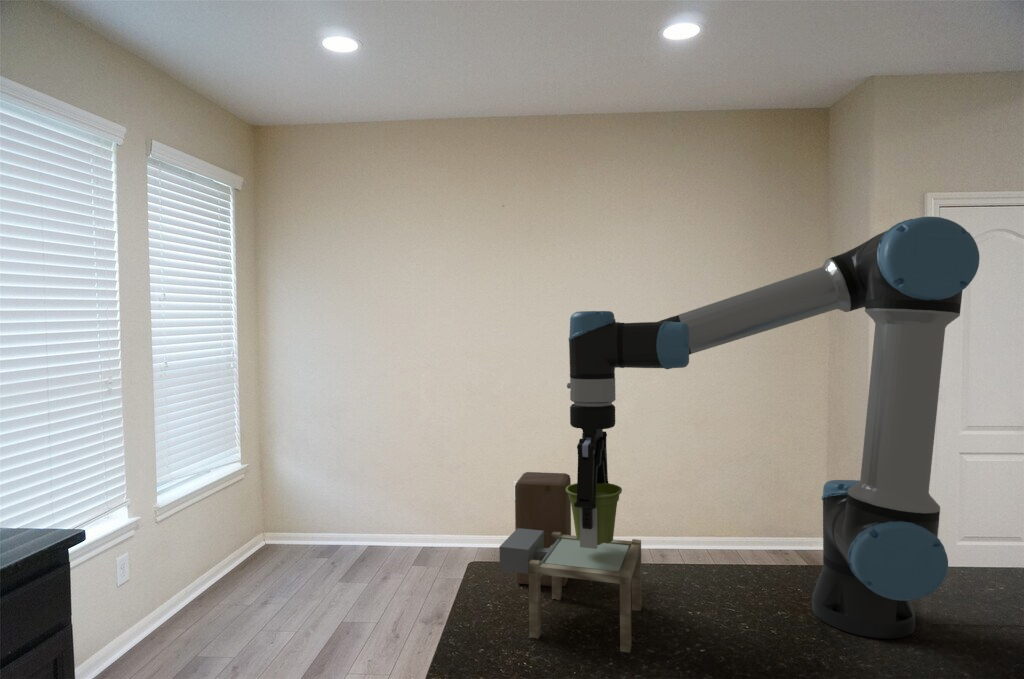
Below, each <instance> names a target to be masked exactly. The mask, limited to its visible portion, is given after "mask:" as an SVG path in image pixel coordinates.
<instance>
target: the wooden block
mask: <svg viewBox="0 0 1024 679" xmlns="http://www.w3.org/2000/svg"><path fill="white" fill-rule="evenodd" d="M571 479H572V478H571V476H570V475H569V474H568V473H563V472H562V473H561V472H542V471H541V472H540V471H539V472H537V471H536V472H535V471H534V472H533V471H526V472H524V473H523V474H521V476H520V478H519V479H518V480H517V481H516V482H515V485H514V512H515V513H514V518H515V519H514V520H515V524H514V525H515V528H514V529H515V530H516V529H517V528H521V529H531V530H541V531H544V548H550V546H551V534H552V533H553V532H561V534H562V535H572V506H571V501H570V500H569V495H568V493H567V492H566V487H567V486H569V485H572V484H571V483H572V482H571ZM515 530H514V531H515ZM542 557H543V556H541V557H540V559H539V561H540V560H541V558H542ZM515 580H516V582H517V583H518V584H520V585H522V584H523V585H529V573H528V574H526V573H518V572H515ZM568 580H569V578H567V577H562V586H563V587H566V585H567V583H568ZM540 586H545V587H546V586H547V587H552V576H550V575H542V576H541V578H540Z"/></svg>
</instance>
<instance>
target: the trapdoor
mask: <svg viewBox="0 0 1024 679" xmlns="http://www.w3.org/2000/svg"><path fill="white" fill-rule="evenodd" d="M628 552H629V545H619V544H609V543H608V544H607V543H602V544H600V545H597V549H593V548H583V547H580V541H579V540H569V539H561V540H560V539H557V540H556V542H555V543H554V544H553V546H552V547H551V548H544V531H541V530H531V529H521V528H517V529H516V530H514V531H513V532H512V533H511V534H510V535H509V536H508V537H507V538H506V539H505V540H504V541H503V542H502V543H501V544H500V545H499V571H501V572H502V571H503V572H509V573H510V572H511V573H516V572H518V573H526V574H528V573H529V562H530V561H531V560H539V559H540V557H541V556H543V557H544V558H543V559H542V561H541V562H540V563H544V564H553V565H562V566H570V567H579V568H588V569H597V570H606V571H615V572H620V571H621V570H622V568H623V566H624V563H625V560H626V558H627V555H628Z"/></svg>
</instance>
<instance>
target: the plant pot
mask: <svg viewBox="0 0 1024 679" xmlns="http://www.w3.org/2000/svg"><path fill="white" fill-rule="evenodd" d="M566 492H567V493H568V495H569V500H570V501H571V513H572V516H573V517H572V518H573V524H574V530H575V536H576V538H577V540H580V508H577V507H575V506H574V503H576V501H577V482H576V483H572V484H571V485H569V486H567V487H566ZM622 492H623V489H622V487H621V486H619V485H617V484H614V483H610V482H608V483H602V484H597V487H596V496H595V497H596V507H597V545H600V544H602V543H607V544H608V543H610V542H612V541H613V539H614V534H615V532H614V531H615V524H616V514H617V507H618V502H619V501H620V494H622ZM586 500H588V499H586Z"/></svg>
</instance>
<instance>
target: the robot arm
mask: <svg viewBox="0 0 1024 679" xmlns="http://www.w3.org/2000/svg"><path fill="white" fill-rule="evenodd" d="M980 260H981V259H980V250H979V247H978V244H977V242H976V240H975V238H974V237H973V236H972V234H971V233H970V232H969V231H967V229H966V228H964V227H963V226H962V225H960V224H959V223H957V222H955V221H953V220H951V219H948V218H944V217H940V216H920V217H916V218H909V219H905V220H903V221H900V222H898V223H896V224H894V225H892V226H891V227H890V228H889V229H887V230H885V231H883V232H881V233H878V234H876V235H875V236H873V237H871V238H870V239H868V240H866V241H865V242H862V243H861V244H859V245H857V246H855V247H854V248H852V249H850V250H847V251H846V252H843V253H841V254H837V255H835V256H832V257H829V258H826V259H825V261H824V262H823V265H822V266H821V267H818V268H814V269H812V270H809V271H806V272H802V273H799V274H797V275H794V276H791V277H788V278H785V279H781V280H779V281H775V282H773V283H770V284H766V285H764V286H761V287H758V288H755V289H752V290H749V291H745V292H742V293H739V294H736V295H733V296H731V297H728V298H725V299H721V300H718V301H715V302H713V303H710V304H706V305H703V306H701V307H698V308H697V307H696V308H695V309H691V310H688V311H684V312H682V313H679V314H677V315H674V316H670V317H667V318H664V319H661V320H659V321H649V322H647V321H646V322H645V321H644V322H642V321H641V322H619V321H617V322H616V318H615V314H614V312H613V311H611V310H585V311H576V312H574V313H573V314H571V316H570V319H569V320H570V321H569V337H568V348H569V349H568V350H569V353H568V354H569V379H570V380H569V382H567V383H566V388H567V389H570V391H569V392H570V393H569V396H570V398H569V400H570V401H571V402H573V403H572V404H570V406H569V420H570V421H569V423H570V426H571V427H572V428H575V429H581V430H582V435H581V438H579V440H578V443H577V445H576V448H577V449H576V450H577V474H576V475H577V477H576V478H577V482H576V483H577V501H576V503H574V506H575V507H577V508H580V547H583V548H593V549H597V507H596V497H595V496H596V487H597V484H602V483H609V475H608V474H609V473H608V453H607V436H608V433H607V431H604V430H607V429H608V430H609V429H612V428H613V427H615V426H616V406H615V405H614V404H613V402H615V401H616V372H615V370H616V368H617V369H618V368H620V369H624V368H628V369H629V368H630V369H632V368H635V369H665V370H670V369H683V368H686V367H687V366H689V364H690V355H692V354H697V353H698V352H702V351H706V350H709V349H712V348H715V347H719V346H722V345H725V344H728V343H732V342H734V341H738V340H742V339H744V338H747V337H750V336H754V335H757V334H760V333H763V332H767V331H771V330H774V329H777V328H780V327H783V326H786V325H790V324H792V323H795V322H799V321H803V320H806V319H808V318H812V317H815V316H818V315H822V314H826V313H827V312H832V311H835V310H839V311H841V312H844V313H848V312H852V311H855V310H856V311H857V310H859V309H864V312H865V313H866V314H867V315H868V316H869V317H870V319H872V320H873V323H874V324H875V325H874V334H873V345H872V355H871V356H872V357H871V363H870V364H871V366H870V377H869V385H868V386H869V387H868V396H867V398H868V399H867V408H866V418H865V428H864V436H863V437H864V438H863V446H862V448H863V449H862V458H861V470H860V479H859V480H856V479H853V480H852V479H833V480H832V479H831V480H829V481H826V482H825V483H824V484H823V487H822V488H823V489H822V491H823V492H822V496H821V500H822V547H823V548H822V554H823V555H822V556H823V557H822V561H823V562H822V563H823V564H822V568H821V571H820V573H819V576H818V578H817V581H816V584H815V587H814V590H813V592H812V596H811V610H812V612H813V614H814V615H815V616H816V617H817V618H818V619H819V620H821V621H822V622H824V623H825V624H827V625H829V626H831V627H833V628H836V629H837V630H841V631H843V632H846V633H850V634H854V635H857V636H861V637H868V638H874V639H882V640H883V639H901V638H905V637H906V638H907V637H908V636H910V635H913V633H914V632H915V630H916V614H915V611H914V607H913V604H912V602H911V601H915V600H919V599H923V598H924V597H927V596H928V595H930V594H931V593H935V591H936V590H937V589H939V588H940V587H941V585H942V584H943V583H944V581H945V579H946V577H947V574H948V571H949V558H948V555H947V552H946V549H945V546H944V544H943V543H942V542H941V539H940V538H939V537H938V535H939V527H940V514H941V506H940V505H939V503H937V501H936V500H935V499H934V498H933V496H931V494H930V484H931V482H930V481H931V473H932V464H933V452H934V444H935V433H936V426H937V425H936V423H937V414H938V413H937V412H938V405H939V404H938V403H939V395H940V394H939V393H940V383H941V374H942V366H943V365H942V364H943V355H944V345H945V335H946V328H947V327H948V326H949V324H951V323H952V322H953V321H955V320H956V319H958V318H959V317H960V316H961V308H962V298H963V292H964V291H963V290H965V289H967V287H968V286H969V285H970V284H971V282H972V281H973V280H974V278H975V276H976V275H977V273H978V269H979V266H980ZM586 499H588V500H586Z"/></svg>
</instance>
